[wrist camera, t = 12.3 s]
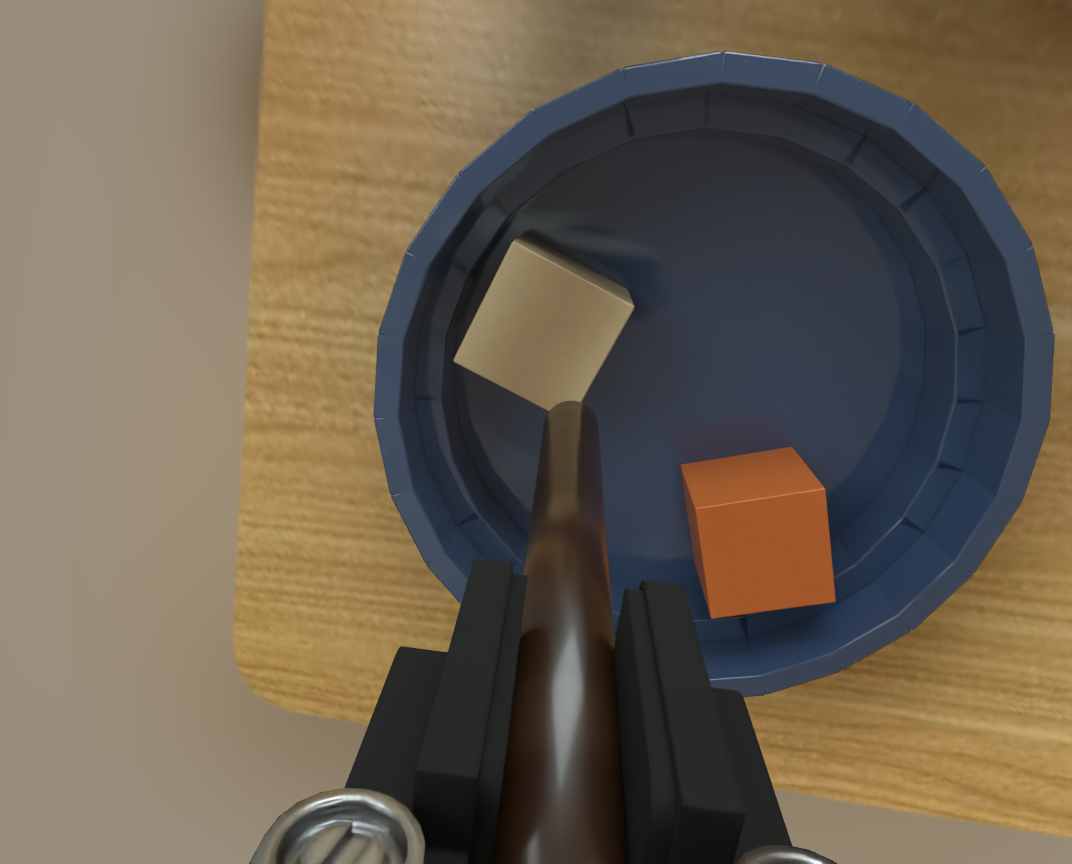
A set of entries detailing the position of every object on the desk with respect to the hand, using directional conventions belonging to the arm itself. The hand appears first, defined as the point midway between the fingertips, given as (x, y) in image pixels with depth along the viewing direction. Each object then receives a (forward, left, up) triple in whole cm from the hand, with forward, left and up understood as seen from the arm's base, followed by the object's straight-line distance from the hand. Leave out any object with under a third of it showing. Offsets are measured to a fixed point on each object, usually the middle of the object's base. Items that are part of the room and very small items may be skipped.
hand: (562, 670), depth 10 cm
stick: (0, 0, -11) cm, 11 cm away
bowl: (+4, 0, -18) cm, 18 cm away
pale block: (-1, +2, -17) cm, 18 cm away
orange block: (+7, -4, -17) cm, 19 cm away
